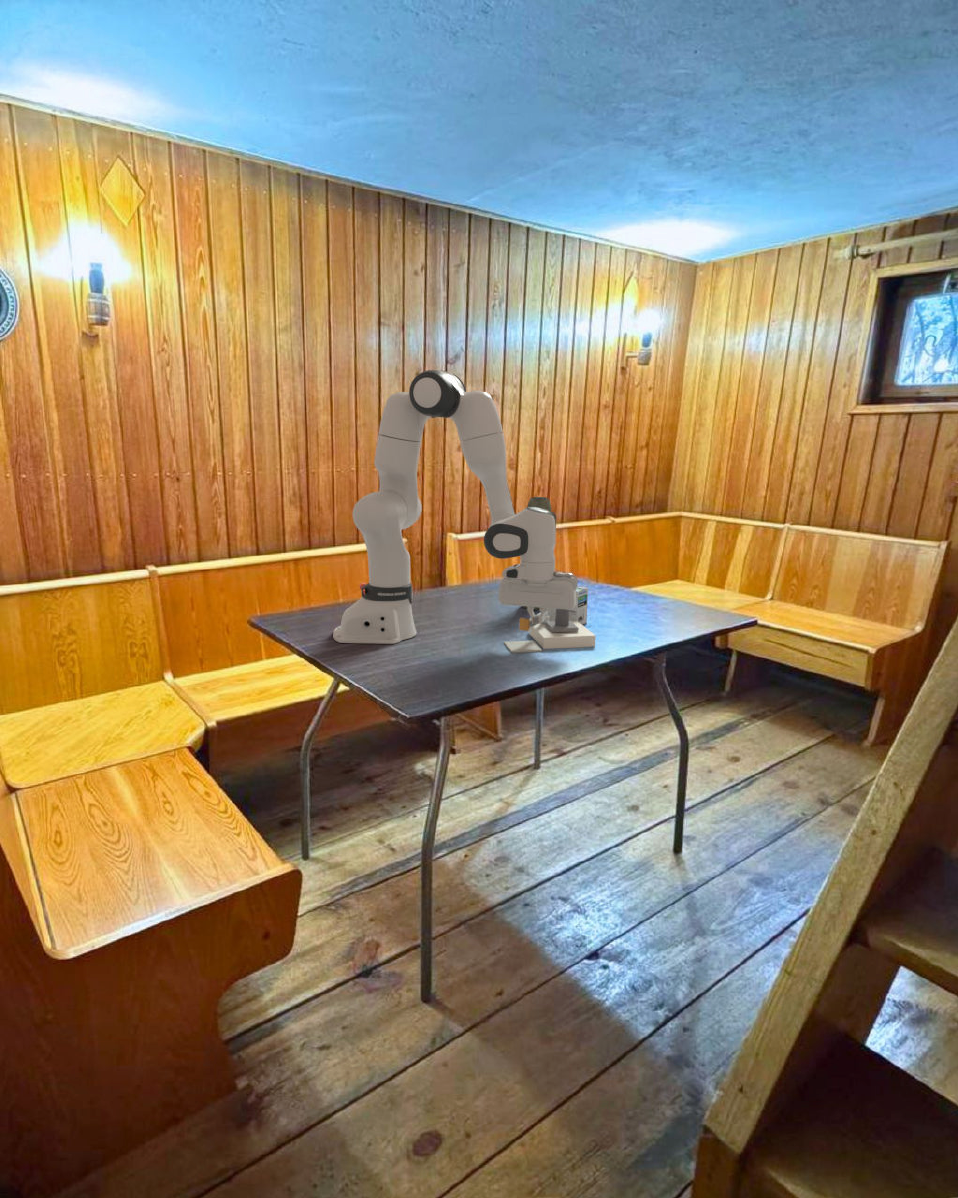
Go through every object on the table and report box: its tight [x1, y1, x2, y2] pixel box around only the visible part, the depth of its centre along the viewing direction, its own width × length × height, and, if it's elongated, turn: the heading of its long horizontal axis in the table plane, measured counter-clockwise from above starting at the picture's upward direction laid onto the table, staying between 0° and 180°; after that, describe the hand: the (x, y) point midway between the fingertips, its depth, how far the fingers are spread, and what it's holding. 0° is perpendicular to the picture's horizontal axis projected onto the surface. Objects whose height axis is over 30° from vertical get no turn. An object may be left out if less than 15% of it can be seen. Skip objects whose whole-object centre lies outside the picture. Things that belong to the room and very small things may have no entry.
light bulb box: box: [546, 586, 589, 626], centre depth 201 cm, size 11×7×11 cm, turn 56°
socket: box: [528, 621, 596, 650], centre depth 184 cm, size 14×14×3 cm
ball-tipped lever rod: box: [519, 611, 550, 632], centre depth 183 cm, size 16×2×4 cm, turn 151°
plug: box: [546, 609, 579, 632], centre depth 183 cm, size 7×7×9 cm
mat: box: [503, 640, 543, 654], centre depth 177 cm, size 8×8×1 cm
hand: (536, 623), depth 178 cm, fingers closed
